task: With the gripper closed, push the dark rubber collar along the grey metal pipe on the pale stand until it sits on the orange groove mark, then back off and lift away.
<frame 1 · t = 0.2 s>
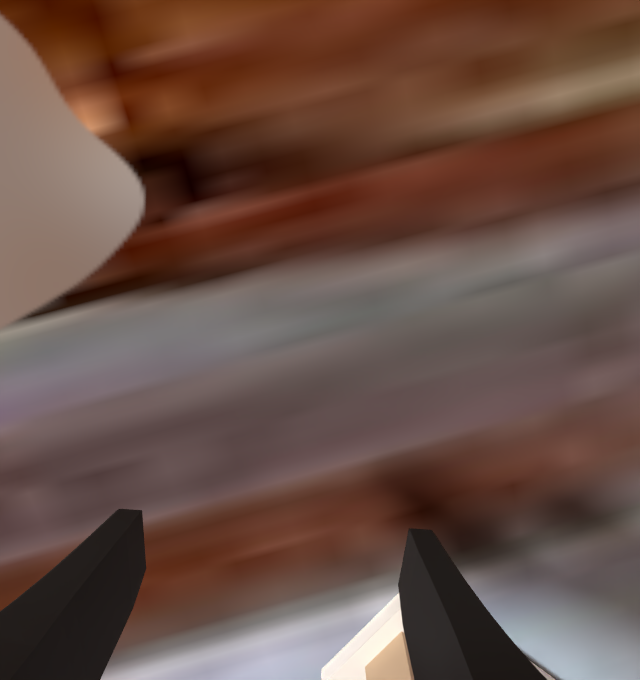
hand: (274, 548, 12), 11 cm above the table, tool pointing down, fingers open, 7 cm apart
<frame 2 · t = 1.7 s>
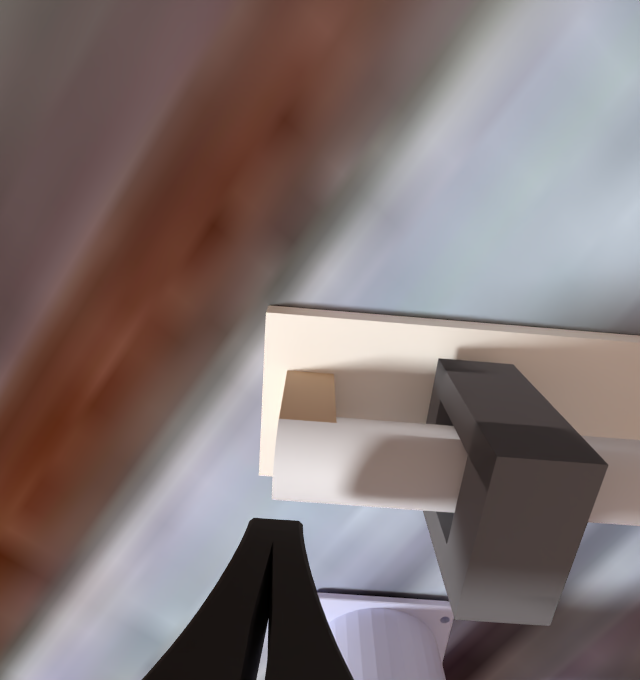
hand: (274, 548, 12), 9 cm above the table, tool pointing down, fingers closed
pipe stand: (576, 413, 21), on the table
collar: (487, 475, 16), point 5 cm above the table, slide at 0.0 cm
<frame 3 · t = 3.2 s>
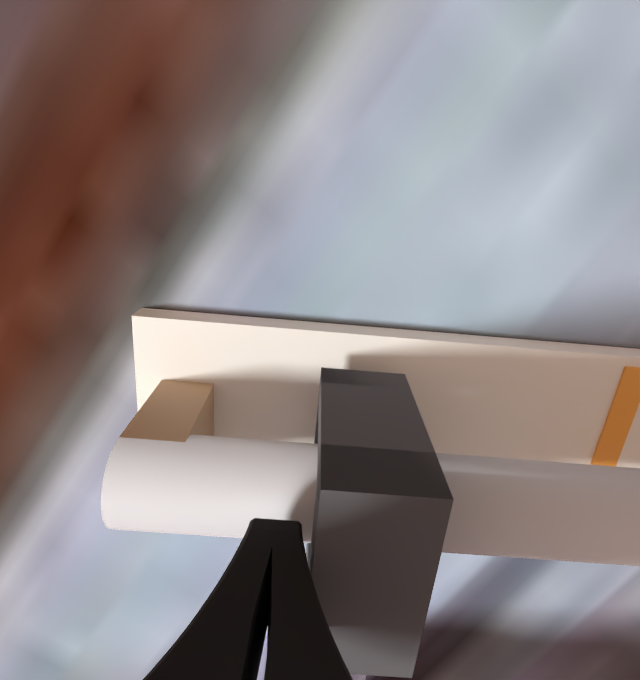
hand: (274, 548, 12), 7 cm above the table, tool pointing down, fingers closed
pipe stand: (490, 426, 20), on the table
collar: (360, 501, 15), point 5 cm above the table, slide at 0.0 cm, touching gripper
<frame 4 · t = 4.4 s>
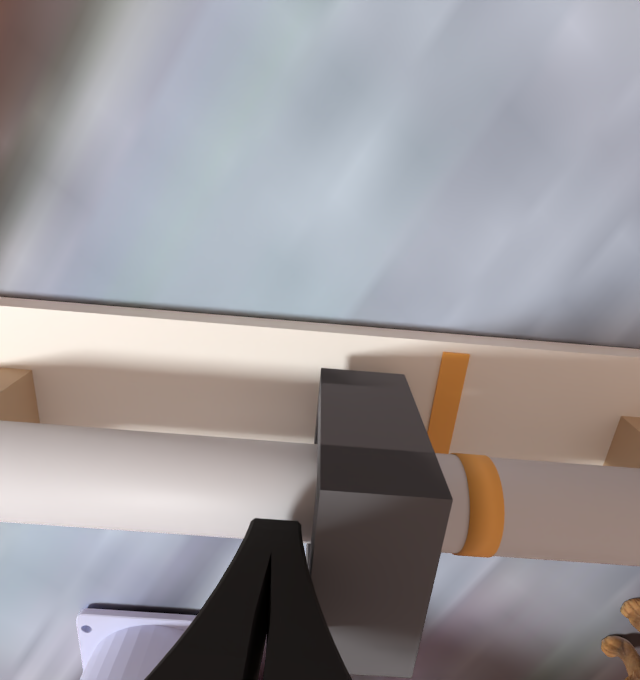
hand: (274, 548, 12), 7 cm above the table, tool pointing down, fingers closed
pipe stand: (327, 413, 19), on the table
collar: (360, 501, 15), point 5 cm above the table, slide at 7.0 cm, touching gripper
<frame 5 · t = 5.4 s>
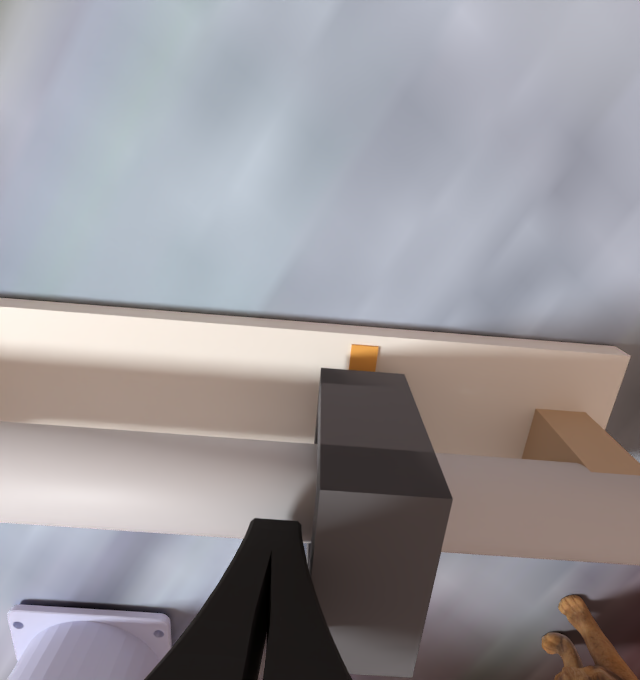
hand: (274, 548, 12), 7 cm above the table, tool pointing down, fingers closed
pipe stand: (246, 407, 19), on the table
collar: (360, 501, 15), point 5 cm above the table, slide at 10.4 cm, touching gripper
lion figurine: (598, 638, 25), on the table
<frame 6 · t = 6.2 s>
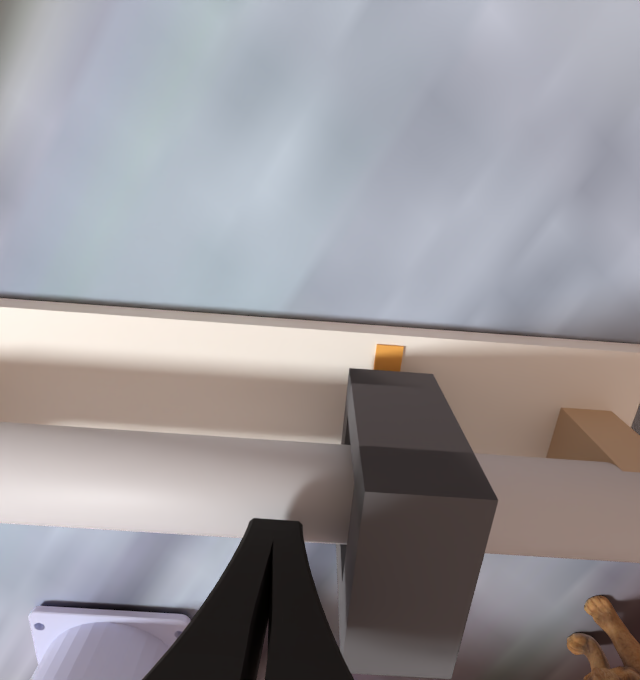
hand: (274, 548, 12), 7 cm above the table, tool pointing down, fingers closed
pipe stand: (268, 408, 19), on the table
collar: (393, 502, 14), point 5 cm above the table, slide at 10.5 cm
lion figurine: (623, 638, 24), on the table
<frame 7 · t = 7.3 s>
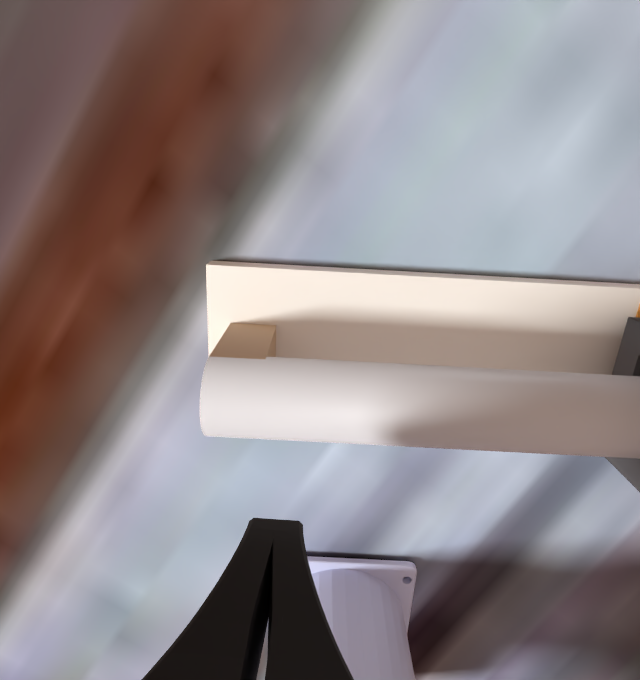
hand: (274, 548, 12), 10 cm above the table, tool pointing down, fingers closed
pipe stand: (521, 362, 22), on the table
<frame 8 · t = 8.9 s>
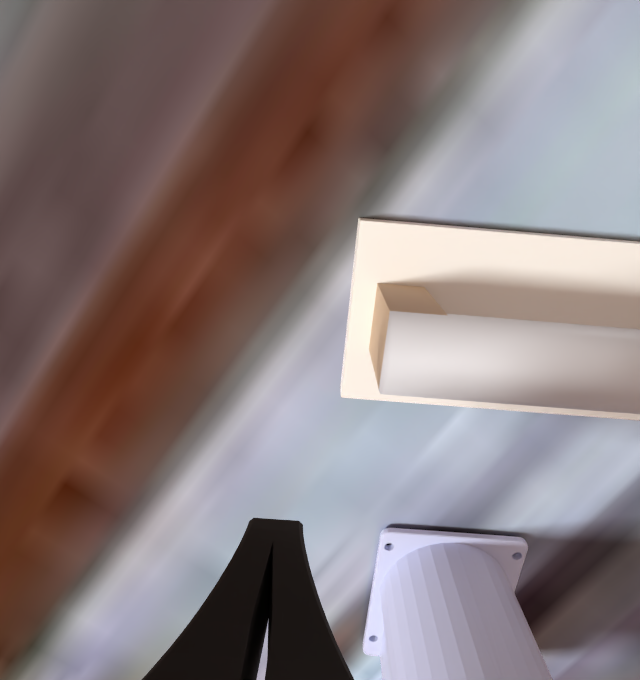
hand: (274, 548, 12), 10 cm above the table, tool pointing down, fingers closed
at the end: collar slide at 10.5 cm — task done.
